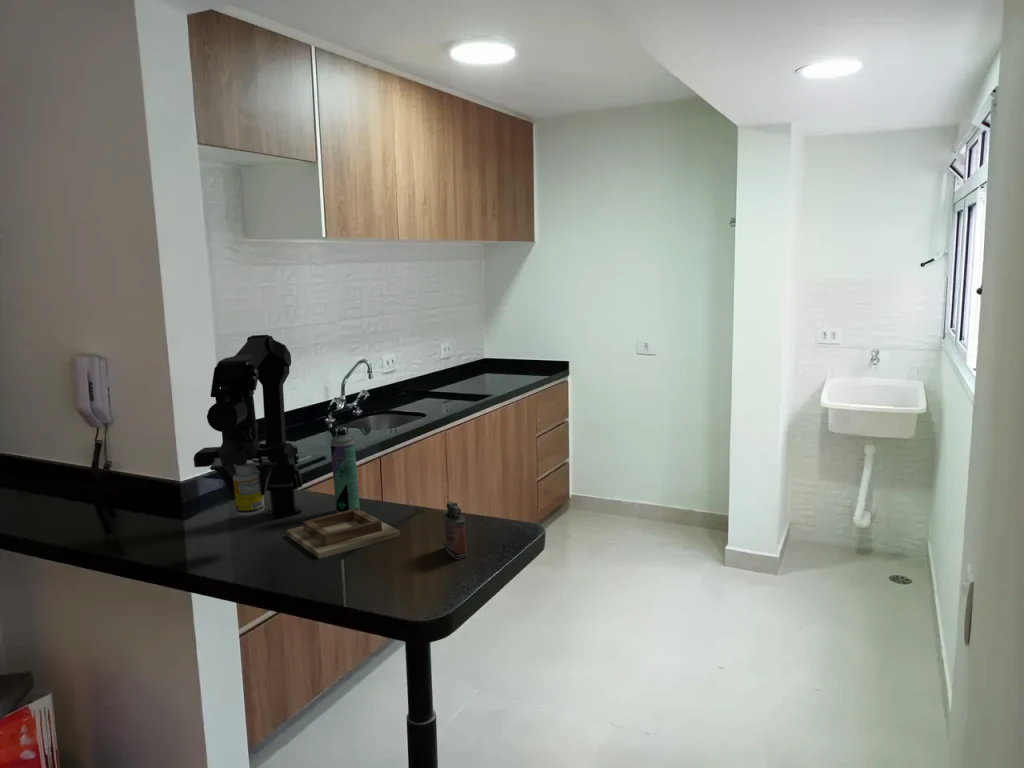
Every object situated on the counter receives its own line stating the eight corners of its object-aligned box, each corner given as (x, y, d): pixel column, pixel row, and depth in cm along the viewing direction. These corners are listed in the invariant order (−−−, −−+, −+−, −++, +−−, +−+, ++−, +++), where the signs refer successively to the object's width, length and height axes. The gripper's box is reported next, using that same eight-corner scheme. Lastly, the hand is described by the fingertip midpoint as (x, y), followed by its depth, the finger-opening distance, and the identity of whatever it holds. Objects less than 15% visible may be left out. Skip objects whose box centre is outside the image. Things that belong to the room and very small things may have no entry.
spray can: (350, 506, 181) (343, 425, 178) (364, 509, 178) (358, 427, 175) (331, 512, 177) (324, 430, 174) (346, 516, 174) (339, 432, 170)
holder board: (287, 535, 163) (285, 521, 162) (363, 516, 173) (362, 502, 173) (319, 558, 148) (317, 543, 148) (400, 536, 159) (398, 521, 158)
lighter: (441, 547, 151) (438, 499, 150) (457, 544, 153) (454, 497, 151) (454, 560, 144) (451, 511, 142) (471, 557, 145) (468, 507, 144)
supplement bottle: (241, 508, 157) (236, 461, 155) (268, 506, 157) (263, 459, 156) (232, 517, 152) (227, 468, 150) (260, 515, 152) (255, 466, 150)
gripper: (178, 432, 143) (188, 510, 146) (276, 427, 144) (284, 504, 146) (200, 420, 154) (208, 493, 157) (291, 415, 155) (298, 488, 157)
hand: (249, 495), depth 154 cm, fingers closed on supplement bottle, 5 cm apart
